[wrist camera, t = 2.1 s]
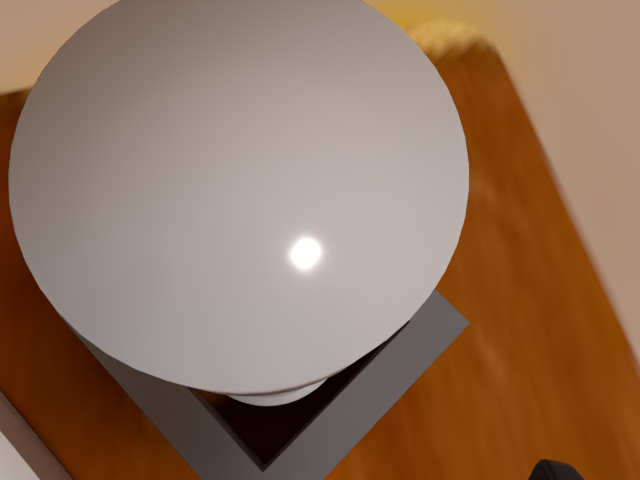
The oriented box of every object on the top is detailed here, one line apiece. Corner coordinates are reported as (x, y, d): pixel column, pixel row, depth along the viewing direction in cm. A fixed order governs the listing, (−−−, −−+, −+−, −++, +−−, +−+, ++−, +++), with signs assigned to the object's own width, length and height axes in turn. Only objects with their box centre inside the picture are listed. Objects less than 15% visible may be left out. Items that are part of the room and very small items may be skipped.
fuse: (266, 439, 17) (226, 506, 5) (165, 329, 18) (-89, 142, 6) (371, 332, 18) (558, 167, 6) (273, 233, 19) (257, -98, 7)
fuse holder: (262, 527, 17) (260, 546, 14) (87, 327, 18) (57, 314, 15) (445, 334, 19) (470, 322, 16) (275, 166, 20) (275, 133, 17)
